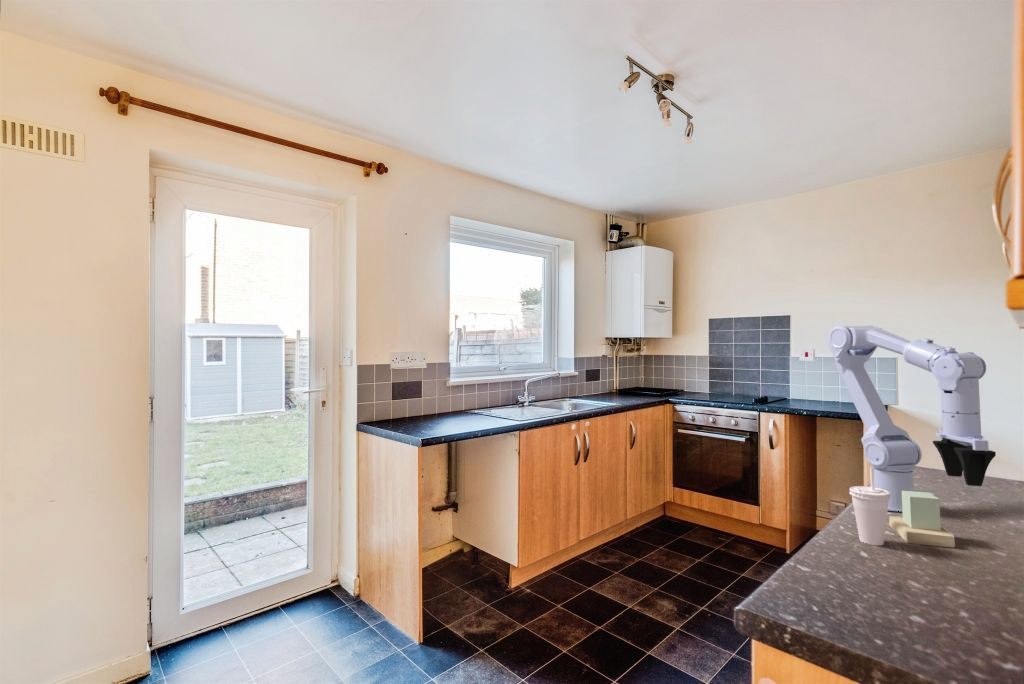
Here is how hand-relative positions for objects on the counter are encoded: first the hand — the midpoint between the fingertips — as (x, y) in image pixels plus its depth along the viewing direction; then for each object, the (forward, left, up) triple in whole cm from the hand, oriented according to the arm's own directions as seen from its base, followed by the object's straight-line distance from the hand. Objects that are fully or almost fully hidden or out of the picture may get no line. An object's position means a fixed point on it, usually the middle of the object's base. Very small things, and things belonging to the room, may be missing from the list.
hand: (963, 480), depth 97 cm
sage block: (+7, -9, -8) cm, 14 cm away
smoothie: (+13, -19, -10) cm, 25 cm away
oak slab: (+7, -10, -10) cm, 15 cm away
